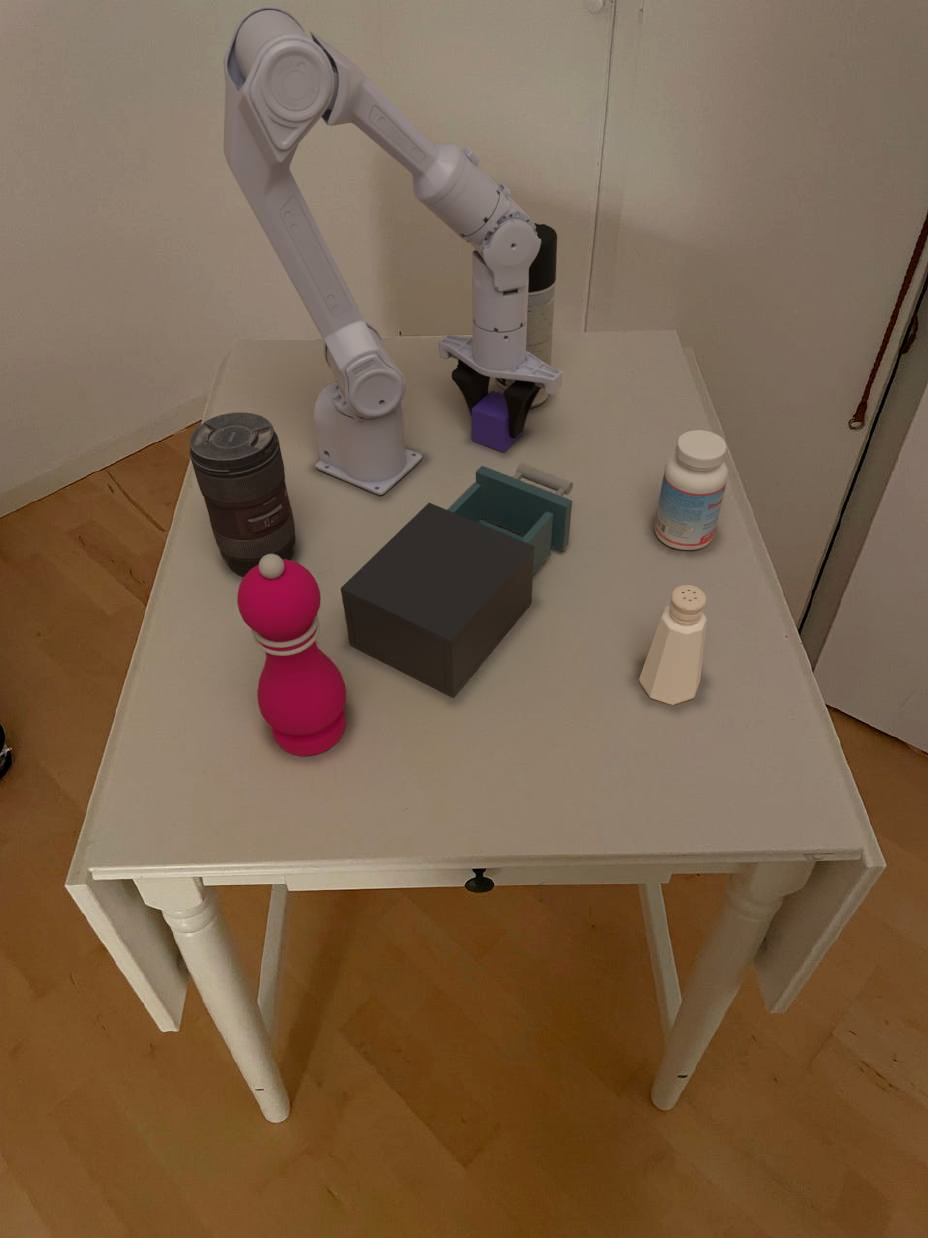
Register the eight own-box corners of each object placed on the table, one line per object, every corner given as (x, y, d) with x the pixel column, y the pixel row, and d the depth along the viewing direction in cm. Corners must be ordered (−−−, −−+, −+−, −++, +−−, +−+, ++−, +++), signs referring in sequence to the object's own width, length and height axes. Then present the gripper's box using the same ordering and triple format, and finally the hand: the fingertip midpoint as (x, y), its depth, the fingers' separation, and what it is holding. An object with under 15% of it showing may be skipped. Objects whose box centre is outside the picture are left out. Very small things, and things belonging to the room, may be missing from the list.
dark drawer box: (432, 560, 93) (429, 502, 87) (531, 604, 88) (534, 545, 83) (349, 645, 85) (340, 588, 79) (453, 698, 81) (451, 641, 75)
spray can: (498, 378, 115) (498, 218, 100) (552, 381, 114) (560, 220, 100) (492, 408, 111) (491, 246, 96) (548, 411, 110) (555, 248, 95)
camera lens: (306, 529, 96) (283, 408, 85) (294, 584, 91) (268, 462, 80) (229, 529, 96) (197, 408, 85) (213, 583, 91) (176, 462, 80)
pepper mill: (280, 773, 76) (231, 606, 61) (257, 709, 80) (206, 540, 65) (363, 744, 77) (334, 574, 63) (336, 683, 82) (304, 512, 67)
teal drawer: (504, 486, 99) (504, 442, 95) (589, 519, 95) (594, 475, 91) (413, 579, 89) (410, 535, 85) (504, 621, 86) (505, 577, 81)
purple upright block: (471, 440, 106) (471, 408, 103) (491, 421, 109) (492, 389, 105) (504, 452, 104) (504, 420, 101) (523, 433, 107) (524, 401, 104)
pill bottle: (712, 556, 92) (735, 466, 84) (651, 548, 93) (668, 459, 85) (714, 517, 96) (735, 428, 88) (655, 510, 97) (671, 422, 89)
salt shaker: (635, 658, 83) (651, 571, 75) (695, 659, 83) (718, 572, 75) (641, 705, 80) (659, 619, 72) (704, 706, 79) (729, 620, 71)
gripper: (579, 320, 95) (570, 429, 105) (462, 285, 101) (464, 391, 111) (545, 351, 91) (539, 461, 101) (426, 312, 97) (431, 420, 107)
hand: (498, 427), depth 106 cm, fingers closed on purple upright block, 4 cm apart
